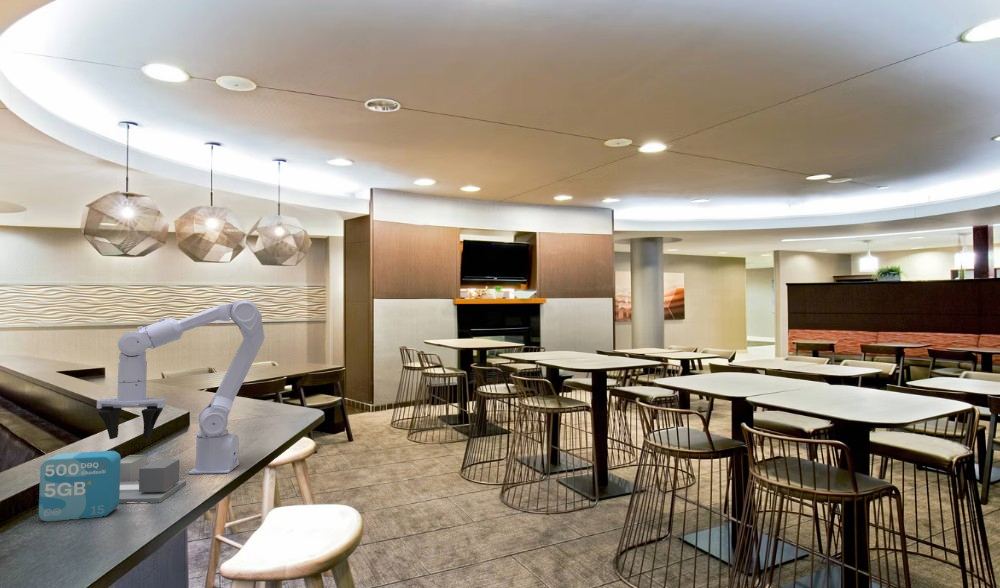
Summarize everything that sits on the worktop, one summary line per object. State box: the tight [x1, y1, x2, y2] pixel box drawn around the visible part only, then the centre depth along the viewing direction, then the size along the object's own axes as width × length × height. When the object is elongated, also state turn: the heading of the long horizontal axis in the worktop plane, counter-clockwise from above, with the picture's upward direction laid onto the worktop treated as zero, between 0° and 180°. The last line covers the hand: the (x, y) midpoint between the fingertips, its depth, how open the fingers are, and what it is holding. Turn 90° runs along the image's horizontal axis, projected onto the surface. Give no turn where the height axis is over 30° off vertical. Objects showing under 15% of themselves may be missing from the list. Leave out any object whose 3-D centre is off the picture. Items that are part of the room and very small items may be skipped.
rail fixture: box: [119, 458, 187, 504], centre depth 120 cm, size 20×12×7 cm, turn 97°
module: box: [120, 454, 148, 482], centre depth 130 cm, size 4×7×5 cm, turn 7°
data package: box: [38, 450, 122, 522], centre depth 108 cm, size 12×4×12 cm, turn 105°
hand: (130, 438), depth 130 cm, fingers open, 7 cm apart
